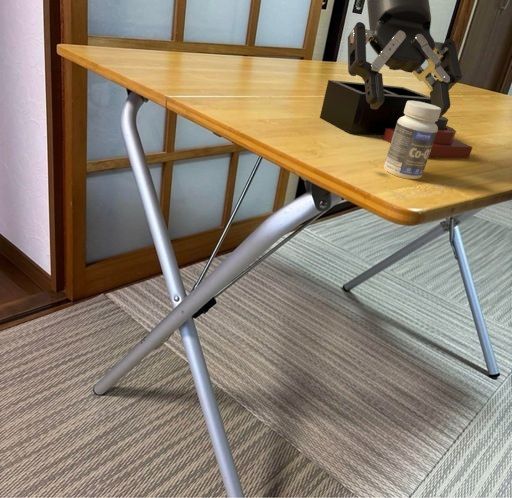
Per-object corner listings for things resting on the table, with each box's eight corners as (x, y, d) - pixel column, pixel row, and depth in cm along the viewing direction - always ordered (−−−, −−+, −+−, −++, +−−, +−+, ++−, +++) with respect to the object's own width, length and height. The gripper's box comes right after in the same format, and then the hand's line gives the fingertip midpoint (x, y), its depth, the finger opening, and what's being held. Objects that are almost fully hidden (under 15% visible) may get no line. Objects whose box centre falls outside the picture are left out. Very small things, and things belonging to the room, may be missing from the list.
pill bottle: (405, 181, 60) (428, 110, 56) (375, 167, 63) (395, 98, 59) (429, 178, 63) (453, 110, 59) (399, 165, 66) (420, 99, 62)
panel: (430, 140, 82) (437, 118, 80) (468, 158, 76) (477, 135, 74) (382, 139, 77) (389, 116, 75) (418, 157, 71) (427, 133, 69)
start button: (432, 125, 77) (435, 113, 76) (449, 132, 74) (453, 120, 73) (414, 124, 75) (418, 112, 75) (431, 131, 73) (435, 119, 72)
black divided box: (392, 121, 90) (403, 86, 87) (426, 137, 83) (438, 100, 81) (319, 118, 82) (328, 79, 80) (349, 134, 76) (360, 93, 73)
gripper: (359, -35, 61) (370, 84, 56) (463, -13, 64) (481, 101, 60) (334, 9, 68) (342, 119, 63) (428, 27, 71) (443, 132, 67)
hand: (409, 110), depth 62 cm, fingers open, 8 cm apart
